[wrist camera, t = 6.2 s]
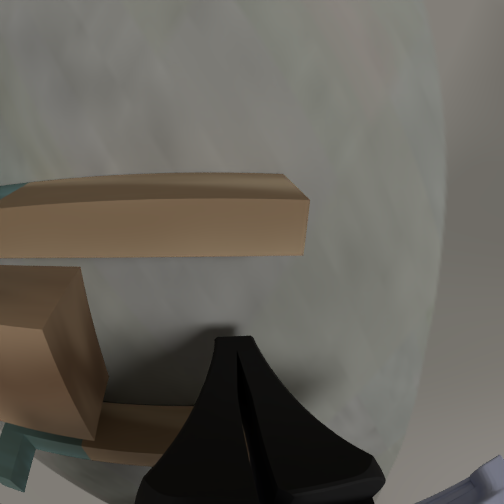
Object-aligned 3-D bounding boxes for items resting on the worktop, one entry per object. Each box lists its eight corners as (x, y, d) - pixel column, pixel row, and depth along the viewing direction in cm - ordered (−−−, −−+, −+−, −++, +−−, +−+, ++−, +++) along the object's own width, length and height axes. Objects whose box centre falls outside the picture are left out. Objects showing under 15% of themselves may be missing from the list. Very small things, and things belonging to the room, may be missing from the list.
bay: (258, 418, 16) (277, 514, 11) (25, 404, 14) (-2, 483, 9) (291, 47, 9) (388, -8, 3) (-63, 98, 7) (-166, 125, 1)
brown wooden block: (109, 373, 14) (94, 441, 10) (13, 361, 13) (-14, 416, 9) (81, 264, 11) (42, 329, 7) (-26, 262, 10) (-74, 312, 7)
